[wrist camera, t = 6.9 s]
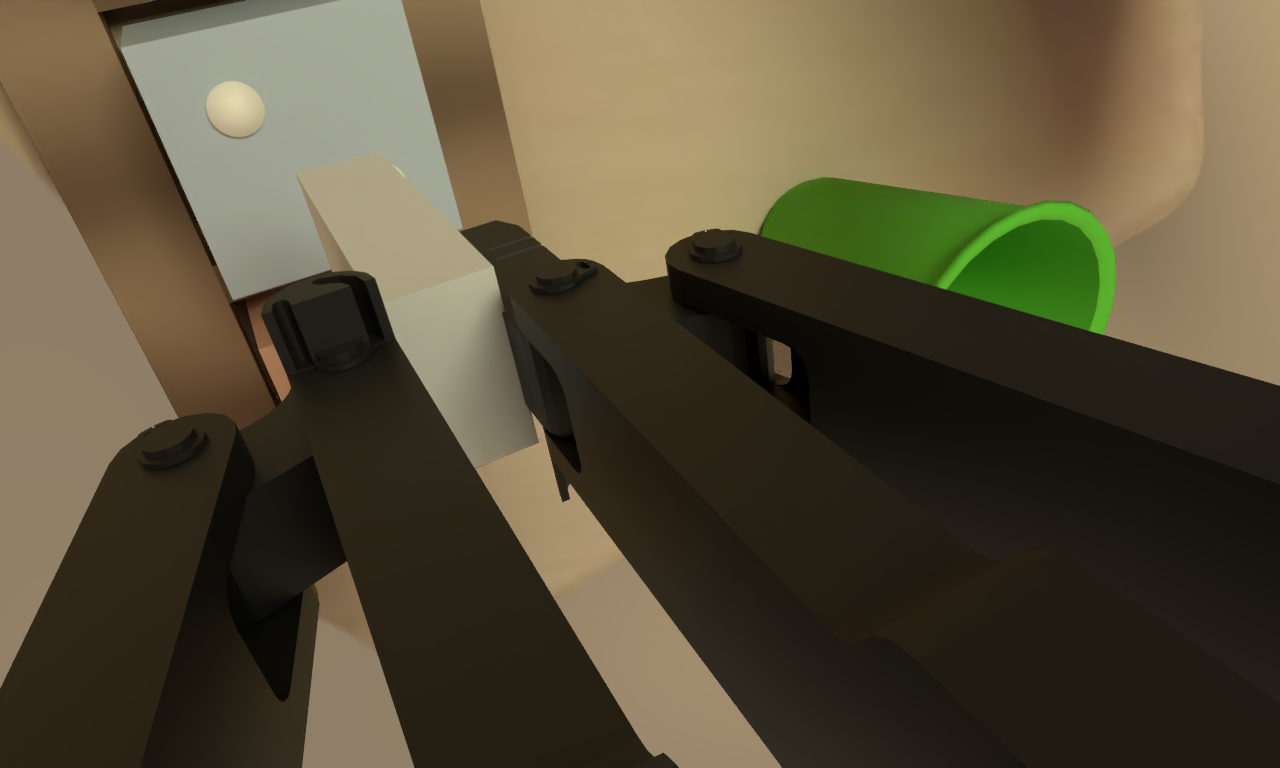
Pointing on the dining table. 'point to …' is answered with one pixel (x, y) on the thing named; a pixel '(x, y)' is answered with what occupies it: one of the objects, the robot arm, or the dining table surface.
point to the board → (155, 204)
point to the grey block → (282, 119)
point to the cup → (960, 245)
